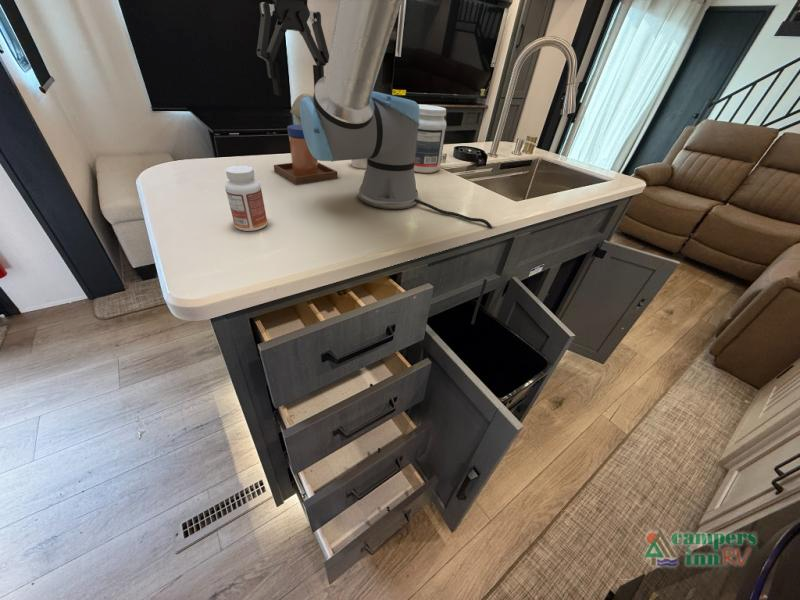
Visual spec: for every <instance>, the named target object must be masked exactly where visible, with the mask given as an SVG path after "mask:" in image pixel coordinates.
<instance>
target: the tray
mask: <svg viewBox="0 0 800 600" xmlns="http://www.w3.org/2000/svg"><path fill="white" fill-rule="evenodd" d="M273 170H274V172H275V173H276V174H278V175H279V176H281V177H282V178H283V179H286V180H287V181H289V182H291V183H293V184H294V185H296V186H298V185H304V184H311V183H317V182H321V181H328V180H329V181H330V180H335V179H338V176H339V175H338V170H335V169H333V168H332V167H329V166H327V165H324V164H323V163H321V162H320V161H318V174H312V175H305V176H296V175H294V174H293V169H292V162H286V163H277V164H273Z"/></svg>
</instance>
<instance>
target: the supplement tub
mask: <svg viewBox="0 0 800 600" xmlns="http://www.w3.org/2000/svg"><path fill="white" fill-rule="evenodd" d="M417 104H418V103H417ZM418 105H419V109H420V112H419V123H420V124H419V126H418V135H417V144H416V154H415V162H414V173H415V172H416V173H421V174H431V173H432V174H433V173H434V172H438V171H439V170H440V168H441V163H442V158H443V157H442V156H443V150H444V144H445V137H446V130H447V120H446V119H445V117H446V115H447V108H445V107H442V106H438V105H432V104H421V103H419V104H418Z"/></svg>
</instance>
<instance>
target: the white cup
mask: <svg viewBox="0 0 800 600" xmlns="http://www.w3.org/2000/svg"><path fill="white" fill-rule="evenodd" d="M350 162H351V166H352V167H353V168H356V169H362V170H363V169H365V170H366V168H367V159H354V160H350Z"/></svg>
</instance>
